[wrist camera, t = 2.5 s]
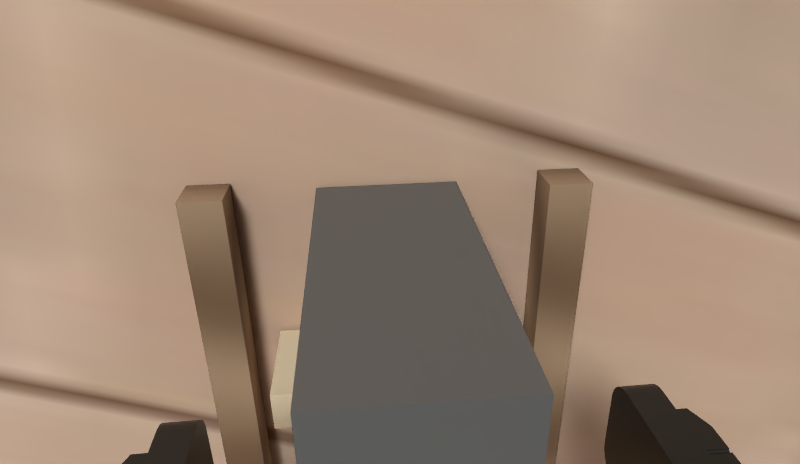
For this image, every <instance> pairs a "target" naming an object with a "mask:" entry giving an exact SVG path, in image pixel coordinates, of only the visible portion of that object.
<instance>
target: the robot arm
mask: <svg viewBox="0 0 800 464" xmlns="http://www.w3.org/2000/svg"><path fill="white" fill-rule="evenodd" d="M604 451H605V460H606V464H741V463H740V462H739V460H738V459H737V458H736V457H735V455H734V454H733V453H730V452H729V448H728V446H727V445H726V444H725V443H724V441H723V440H722V439H721V438H720V436H719V435H718V434H717V433H716V431H715V430H714V429H713V427H712V426H710V425H709V424H708V423H706V422H705V421H703V420H702V419H701V418H699V417H698V416H697V415H695V414H694V413H692V412H691V411H690V410H688V409H687V408H685V409H675V407H674V406H673V405H672V403H671V402H670V401H669V399H668V398H667V396H666V395H665V394H664V392H663V391H662V390H661V389H660V387H658V386H657V385H655V384H646V385H634V386H622V387H616V388H615V389H614V391H613V395H612V400H611V407H610V413H609V419H608V426H607V432H606V438H605V447H604ZM122 464H214V463H213V458H212V453H211V449H210V444H209V439H208V435H207V430H206V426H205V423H204V421H203V420H193V421H181V422H169V423H162V424H160V425H159V427H158V429H157V431H156V434H155V436H154V439H153V441H152V444H151V447H150V449H149V452H148V453H143V454H132V455H130V456H129V457H128V458H127V459H126V460H125V461H124V462H123V463H122Z"/></svg>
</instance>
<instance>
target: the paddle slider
mask: <svg viewBox="0 0 800 464" xmlns="http://www.w3.org/2000/svg"><path fill="white" fill-rule="evenodd" d="M553 397H554V393H553V391H552V389H551V387H550V385H549V382H548V380H547V378H546V376H545V374H544V372H543V369H542V367H541V365H540V363H539V361H538V358H537V356H536V354H535V352H534V350H533V348H532V345H531V343H530V341H529V339H528V337H527V335H526V332H525V330H524V328H523V326H522V324H521V322H520V319H519V317H518V315H517V313H516V311H515V308H514V306H513V304H512V302H511V300H510V298H509V295H508V293H507V291H506V289H505V287H504V285H503V282H502V280H501V278H500V276H499V274H498V272H497V269H496V267H495V265H494V263H493V261H492V258H491V256H490V254H489V252H488V250H487V248H486V245H485V243H484V241H483V239H482V237H481V235H480V232H479V230H478V228H477V226H476V224H475V222H474V219H473V217H472V215H471V213H470V211H469V208H468V206H467V204H466V202H465V200H464V198H463V195H462V193H461V191H460V189H459V187H458V185H457V182H435V183H414V184H392V185H370V186H348V187H326V188H316V195H315V204H314V212H313V221H312V230H311V238H310V247H309V255H308V264H307V273H306V281H305V290H304V298H303V307H302V316H301V324H300V330H289V331H280V337H279V343H278V349H277V355H276V361H275V367H274V374H273V380H272V386H271V392H270V400H271V407H272V414H273V421H274V428H275V429H279V428H292V431H293V439H294V446H295V454H296V462H297V464H545V462H546V454H547V446H548V437H549V429H550V421H551V413H552V405H553Z"/></svg>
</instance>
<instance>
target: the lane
mask: <svg viewBox="0 0 800 464" xmlns="http://www.w3.org/2000/svg"><path fill="white" fill-rule="evenodd" d="M592 188H593V183H592V182H591V181H590V180H589V179H588V178H587V177H586V176H585V175H584V174H583V173H582V172H581V171H580V170H579V169H578V168H574V169H552V170H538V171H537V182H536V193H535V204H534V215H533V226H532V237H531V249H530V260H529V271H528V282H527V293H526V304H525V315H524V327H523V328H524V330H525V332H526V335H527V337H528V339H529V341H530V343H531V345H532V348H533V350H534V352H535V354H536V356H537V358H538V361H539V363H540V365H541V367H542V369H543V372H544V374H545V376H546V378H547V380H548V382H549V385H550V387H551V389H552V391H553V393H554V397H553V405H552V413H551V421H550V429H549V437H548V446H547V454H546V462H545V464H555V463H556V456H557V448H558V441H559V434H560V426H561V419H562V411H563V404H564V396H565V389H566V382H567V374H568V367H569V359H570V352H571V344H572V337H573V329H574V322H575V315H576V307H577V300H578V292H579V285H580V277H581V270H582V263H583V255H584V248H585V240H586V233H587V225H588V218H589V210H590V203H591V196H592ZM176 208H177V213H178V218H179V224H180V229H181V234H182V239H183V244H184V249H185V254H186V259H187V264H188V269H189V274H190V279H191V284H192V289H193V294H194V300H195V305H196V310H197V315H198V320H199V325H200V330H201V335H202V340H203V345H204V350H205V355H206V360H207V365H208V371H209V376H210V381H211V386H212V391H213V396H214V401H215V406H216V411H217V416H218V421H219V426H220V431H221V436H222V441H223V447H224V452H225V457H226V462H227V464H272V458H271V452H270V445H269V439H268V432H267V425H266V419H265V412H264V406H263V399H262V392H261V386H260V379H259V373H258V366H257V359H256V353H255V346H254V340H253V333H252V326H251V320H250V313H249V307H248V300H247V293H246V287H245V280H244V273H243V267H242V260H241V254H240V247H239V240H238V234H237V227H236V221H235V214H234V207H233V201H232V194H231V188H230V184H217V185H194V186H186V187H185V189H184V190H183V192H182V193H181V195H180V196H179V198H178V199H177V201H176Z"/></svg>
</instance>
